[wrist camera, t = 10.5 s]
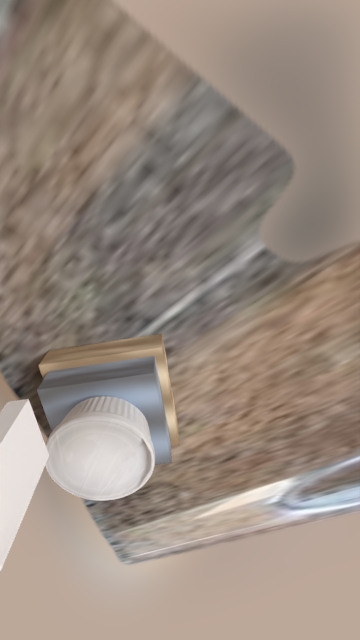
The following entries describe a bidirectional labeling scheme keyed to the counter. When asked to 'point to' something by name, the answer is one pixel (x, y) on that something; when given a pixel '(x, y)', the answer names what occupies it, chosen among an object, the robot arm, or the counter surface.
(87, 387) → the block tower
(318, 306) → the counter surface
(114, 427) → the ramekin
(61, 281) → the counter surface
